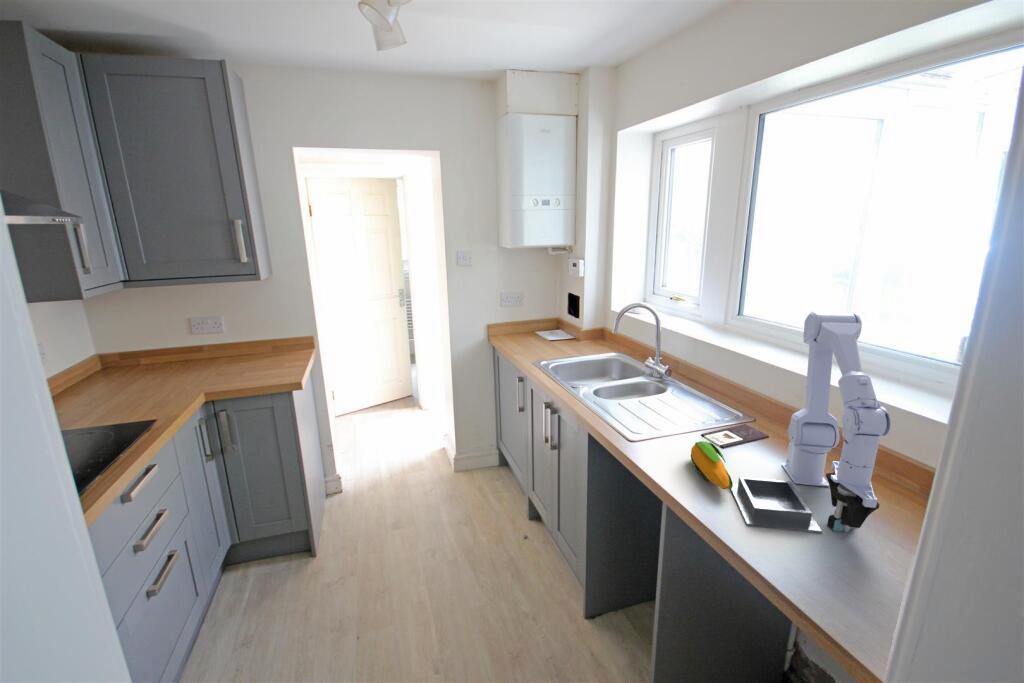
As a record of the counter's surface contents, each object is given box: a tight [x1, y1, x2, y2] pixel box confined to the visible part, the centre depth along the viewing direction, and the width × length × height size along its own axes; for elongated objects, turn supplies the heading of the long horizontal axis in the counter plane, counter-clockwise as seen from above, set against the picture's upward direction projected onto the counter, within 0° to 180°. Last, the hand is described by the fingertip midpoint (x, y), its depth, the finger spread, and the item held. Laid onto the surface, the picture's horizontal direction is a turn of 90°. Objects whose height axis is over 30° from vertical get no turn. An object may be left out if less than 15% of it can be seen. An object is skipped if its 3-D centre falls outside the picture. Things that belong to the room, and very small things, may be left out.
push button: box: [827, 484, 857, 533], centre depth 99 cm, size 7×5×10 cm
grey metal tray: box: [729, 476, 823, 534], centre depth 107 cm, size 16×15×4 cm
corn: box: [690, 440, 733, 490], centre depth 119 cm, size 7×8×20 cm
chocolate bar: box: [700, 423, 770, 450], centre depth 141 cm, size 9×1×18 cm
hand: (845, 515), depth 99 cm, fingers open, 6 cm apart
